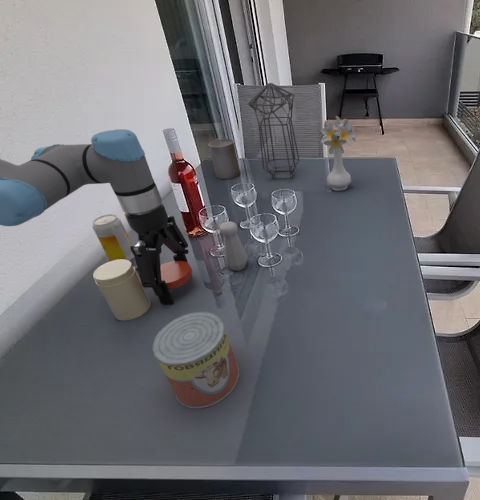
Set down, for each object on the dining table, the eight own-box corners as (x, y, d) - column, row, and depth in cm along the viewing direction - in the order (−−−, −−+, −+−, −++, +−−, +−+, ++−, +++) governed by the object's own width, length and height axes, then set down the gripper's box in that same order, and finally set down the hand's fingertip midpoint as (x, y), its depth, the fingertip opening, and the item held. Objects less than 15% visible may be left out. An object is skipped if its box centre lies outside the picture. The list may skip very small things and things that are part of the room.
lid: (200, 269, 86) (198, 263, 85) (175, 292, 79) (172, 286, 78) (170, 264, 88) (168, 258, 87) (144, 286, 81) (141, 279, 80)
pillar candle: (233, 168, 152) (225, 134, 143) (244, 174, 146) (237, 139, 137) (212, 175, 147) (202, 139, 138) (222, 181, 141) (213, 144, 132)
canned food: (195, 421, 58) (172, 377, 51) (163, 383, 64) (139, 339, 57) (251, 376, 65) (238, 332, 58) (218, 345, 71) (202, 302, 64)
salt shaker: (222, 270, 92) (210, 228, 85) (235, 258, 96) (224, 217, 89) (241, 274, 90) (230, 231, 83) (253, 262, 95) (244, 220, 87)
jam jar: (106, 317, 78) (82, 277, 72) (131, 295, 85) (112, 256, 78) (134, 323, 77) (113, 282, 70) (158, 300, 83) (140, 261, 76)
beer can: (125, 260, 97) (102, 212, 88) (145, 262, 96) (124, 214, 87) (110, 274, 92) (84, 225, 83) (131, 275, 91) (107, 226, 82)
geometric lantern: (299, 182, 138) (288, 86, 118) (260, 183, 138) (242, 87, 118) (304, 167, 151) (294, 78, 131) (268, 168, 151) (253, 79, 131)
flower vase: (325, 200, 124) (320, 129, 110) (321, 180, 139) (316, 115, 125) (361, 197, 126) (361, 126, 111) (354, 177, 141) (352, 112, 126)
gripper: (154, 186, 82) (183, 262, 95) (91, 235, 64) (137, 321, 77) (184, 185, 82) (210, 262, 94) (129, 235, 64) (170, 322, 76)
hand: (177, 289), depth 86 cm, fingers open, 9 cm apart
